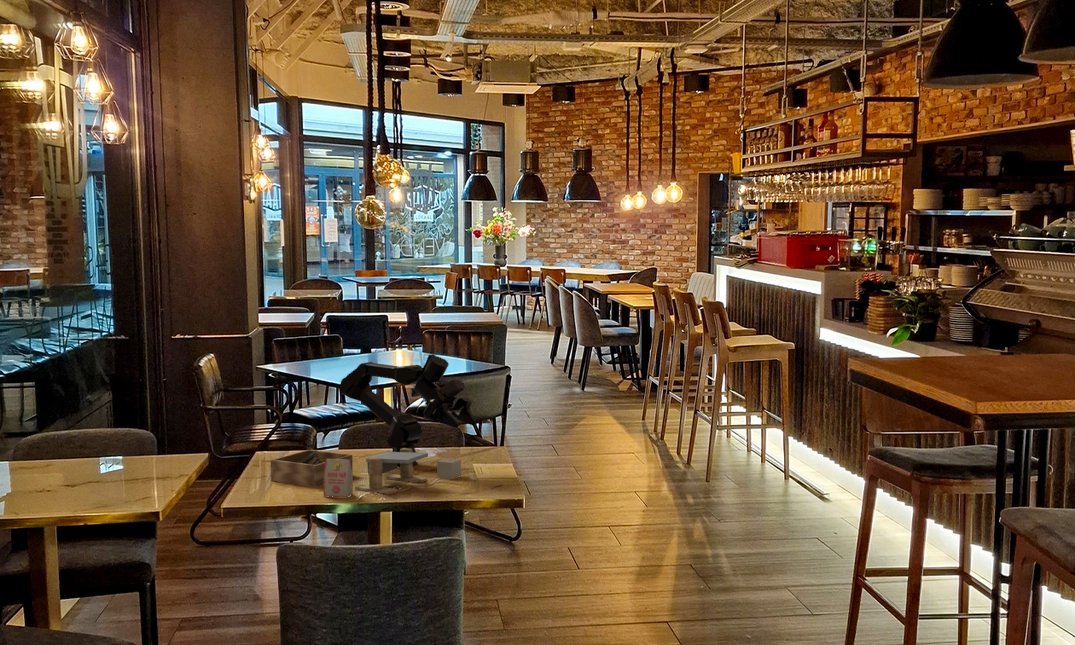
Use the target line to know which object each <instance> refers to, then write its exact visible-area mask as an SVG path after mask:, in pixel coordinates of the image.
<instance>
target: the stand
mask: <svg viewBox="0 0 1075 645" xmlns="http://www.w3.org/2000/svg"><path fill="white" fill-rule="evenodd" d="M400 452H411V453H413V449H409V448H402V449H400ZM413 466H414V465H413V462H411V463H400V467H399V473H400V474H397V473H396V474H395V473H391V474H389V475H386V478H385V479H387V480H393V481H394V480H395V481H400V480H401V481H400V482H403V481H404V482H408V481H411V482H410V483H416V482H420V483H419V484H422V483H421V482H423V483H425V482H424V481H426V482H427V481H428V477H419V476H414V468H413ZM368 483H369V484H368V485H367V484H360V485H357V486H355V487H354V490H355V489H356V490H355V491H360V490H364V491H363V492H367V491H372V492H371V493H374V492H379V493H378V494H382V493H386V494H385V495H389V494H391V495H393V494H392V493H394V494H396V493H395V492H397V493H398V488H397V489H396V488H389V487H383V484H384V483H383V474H382V458H370V459H369V474H368Z"/></svg>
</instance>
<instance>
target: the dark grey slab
mask: <svg viewBox="0 0 1075 645" xmlns="http://www.w3.org/2000/svg"><path fill="white" fill-rule="evenodd" d="M428 457H429V453H428V452H416V453H411V452H392V451H386V452H382V453H380V454H376V455H373V456H369V457H367V458H365V461H366V463H367V472H368V475H369V459H370V458H382V475H383V474H386V473H389V472H391V471H393V470H397V469H398V468H399V467H398V466H397V463H411V462H414V461H416V462H417V461H419V460H422V459H425V458H428Z"/></svg>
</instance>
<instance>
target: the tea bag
mask: <svg viewBox="0 0 1075 645" xmlns="http://www.w3.org/2000/svg"><path fill="white" fill-rule="evenodd" d="M353 478H354V477H353V475H352V469H351V465H350V460H344V459H326V461H325V468H324V474H323V497H324V496H329V497H328V498H334V497H348V496H350V495H352V494H354V490H353V488H354V487H353V484H354V482H353V480H354V479H353ZM332 496H333V497H332ZM352 496H353V495H352ZM350 497H351V496H350Z"/></svg>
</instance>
